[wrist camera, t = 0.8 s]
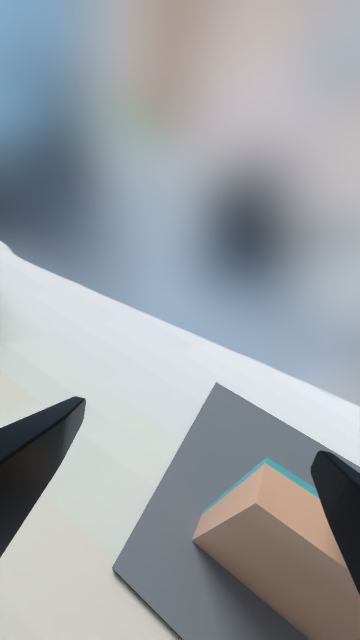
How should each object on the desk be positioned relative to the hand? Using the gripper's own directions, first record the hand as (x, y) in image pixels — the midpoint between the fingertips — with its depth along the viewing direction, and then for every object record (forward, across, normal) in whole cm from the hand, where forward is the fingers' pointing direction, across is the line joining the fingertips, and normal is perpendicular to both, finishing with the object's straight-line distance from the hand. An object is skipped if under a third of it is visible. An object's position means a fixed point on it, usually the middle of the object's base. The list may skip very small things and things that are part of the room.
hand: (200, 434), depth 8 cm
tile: (+4, -8, +14) cm, 16 cm away
